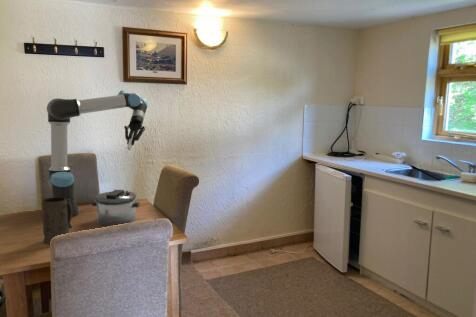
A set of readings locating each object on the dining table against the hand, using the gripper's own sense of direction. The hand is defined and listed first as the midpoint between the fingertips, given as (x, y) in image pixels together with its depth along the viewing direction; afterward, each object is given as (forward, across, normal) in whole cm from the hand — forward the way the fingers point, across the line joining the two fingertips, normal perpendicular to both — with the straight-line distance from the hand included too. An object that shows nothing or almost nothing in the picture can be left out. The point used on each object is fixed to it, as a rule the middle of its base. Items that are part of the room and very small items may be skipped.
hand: (128, 148), depth 227 cm
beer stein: (+62, +16, +11) cm, 65 cm away
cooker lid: (+33, 0, -1) cm, 33 cm away
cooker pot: (+41, 0, -10) cm, 42 cm away
